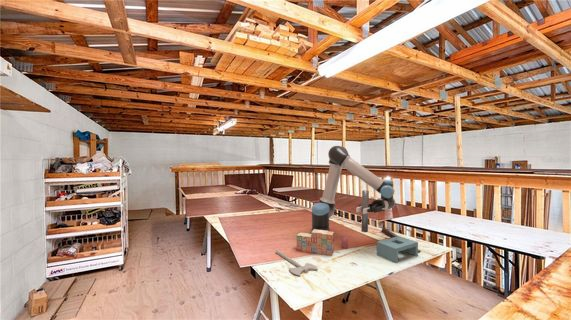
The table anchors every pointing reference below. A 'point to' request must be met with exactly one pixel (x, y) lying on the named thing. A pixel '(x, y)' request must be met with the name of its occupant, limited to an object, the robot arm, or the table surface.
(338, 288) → the table surface
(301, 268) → the axe
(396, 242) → the bridge
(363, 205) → the long pin
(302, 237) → the stack of blocks
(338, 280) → the table surface
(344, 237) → the short pin
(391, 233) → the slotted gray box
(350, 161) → the robot arm
